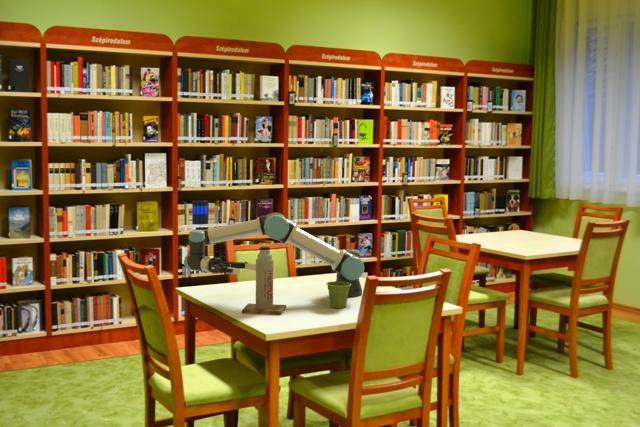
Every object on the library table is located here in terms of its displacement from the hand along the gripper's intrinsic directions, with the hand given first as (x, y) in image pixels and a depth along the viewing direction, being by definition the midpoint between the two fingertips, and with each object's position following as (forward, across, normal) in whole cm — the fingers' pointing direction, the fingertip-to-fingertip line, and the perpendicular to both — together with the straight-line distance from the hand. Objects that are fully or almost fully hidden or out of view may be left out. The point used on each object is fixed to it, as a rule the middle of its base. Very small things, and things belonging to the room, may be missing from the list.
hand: (248, 269), depth 350 cm
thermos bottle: (+9, 0, -17) cm, 19 cm away
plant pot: (+34, -27, -18) cm, 47 cm away
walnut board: (+10, 0, -18) cm, 20 cm away
